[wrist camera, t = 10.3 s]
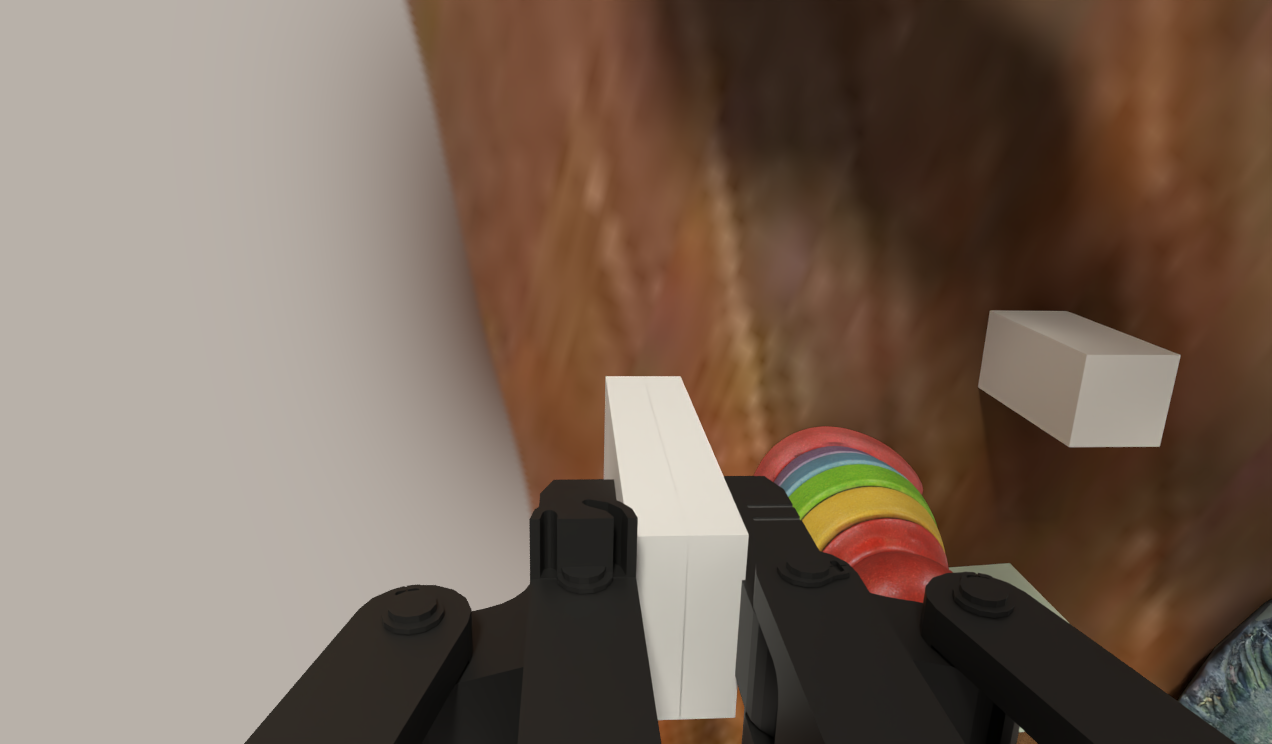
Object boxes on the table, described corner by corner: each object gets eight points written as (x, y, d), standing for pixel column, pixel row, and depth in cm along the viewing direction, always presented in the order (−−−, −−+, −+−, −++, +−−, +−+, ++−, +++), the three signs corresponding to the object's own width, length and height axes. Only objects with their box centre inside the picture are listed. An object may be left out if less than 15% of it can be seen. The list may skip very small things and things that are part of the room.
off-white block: (990, 310, 51) (1087, 354, 41) (1067, 311, 51) (1180, 355, 42) (978, 387, 52) (1069, 447, 43) (1053, 387, 53) (1159, 446, 43)
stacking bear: (806, 592, 56) (910, 799, 39) (708, 497, 53) (774, 675, 36) (931, 489, 54) (1095, 658, 37) (835, 385, 52) (967, 516, 35)
